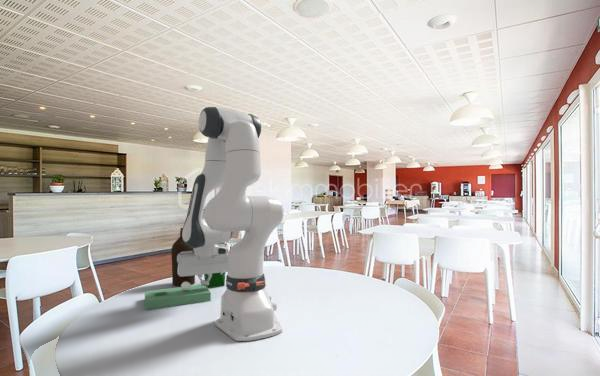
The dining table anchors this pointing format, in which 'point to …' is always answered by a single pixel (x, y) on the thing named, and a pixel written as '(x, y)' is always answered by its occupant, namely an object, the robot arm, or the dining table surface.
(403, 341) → the dining table surface
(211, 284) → the milk carton
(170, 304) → the putting mat
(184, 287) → the golf ball
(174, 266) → the brown cylinder
